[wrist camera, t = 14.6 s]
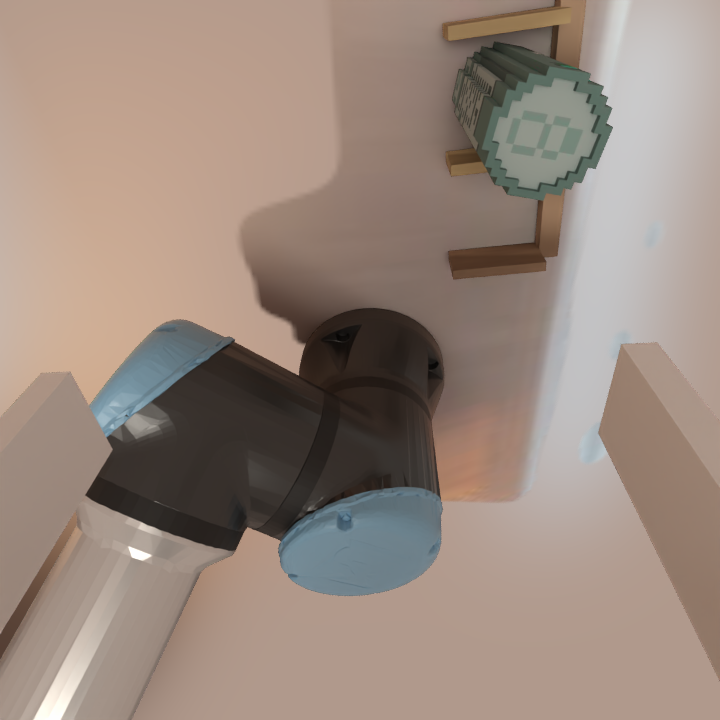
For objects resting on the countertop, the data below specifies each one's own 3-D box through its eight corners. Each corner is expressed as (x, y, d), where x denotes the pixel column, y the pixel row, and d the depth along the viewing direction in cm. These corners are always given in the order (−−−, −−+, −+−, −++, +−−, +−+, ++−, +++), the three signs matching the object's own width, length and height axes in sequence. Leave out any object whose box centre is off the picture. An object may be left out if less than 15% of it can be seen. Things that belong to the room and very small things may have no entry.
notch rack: (552, 249, 44) (565, 268, 41) (448, 259, 45) (453, 279, 42) (598, -180, 29) (624, -201, 25) (438, -148, 30) (443, -166, 26)
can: (520, 141, 39) (579, 206, 27) (445, 128, 39) (470, 188, 27) (549, 51, 35) (632, 81, 23) (466, 36, 35) (507, 58, 23)
